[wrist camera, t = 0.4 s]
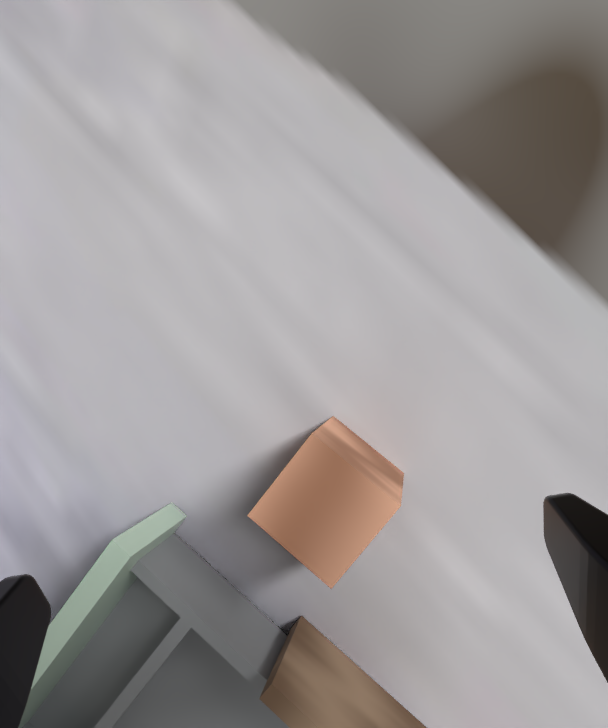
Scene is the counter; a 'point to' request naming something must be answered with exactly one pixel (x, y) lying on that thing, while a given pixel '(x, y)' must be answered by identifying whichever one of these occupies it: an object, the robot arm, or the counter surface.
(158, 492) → the counter surface
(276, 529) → the block
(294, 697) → the sleeve
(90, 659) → the tray
